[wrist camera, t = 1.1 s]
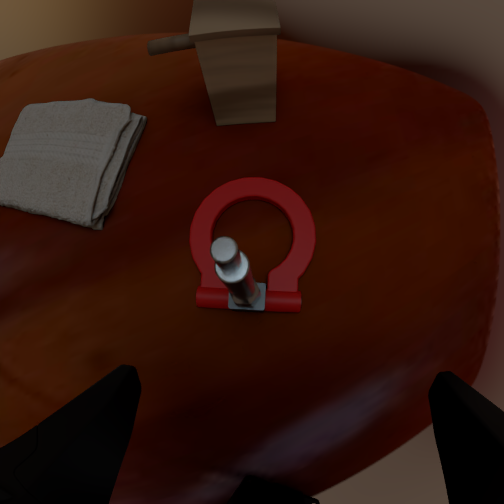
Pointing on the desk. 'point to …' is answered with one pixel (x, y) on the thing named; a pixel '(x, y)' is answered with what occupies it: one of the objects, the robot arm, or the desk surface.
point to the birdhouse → (233, 56)
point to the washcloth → (69, 159)
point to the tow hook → (236, 262)
